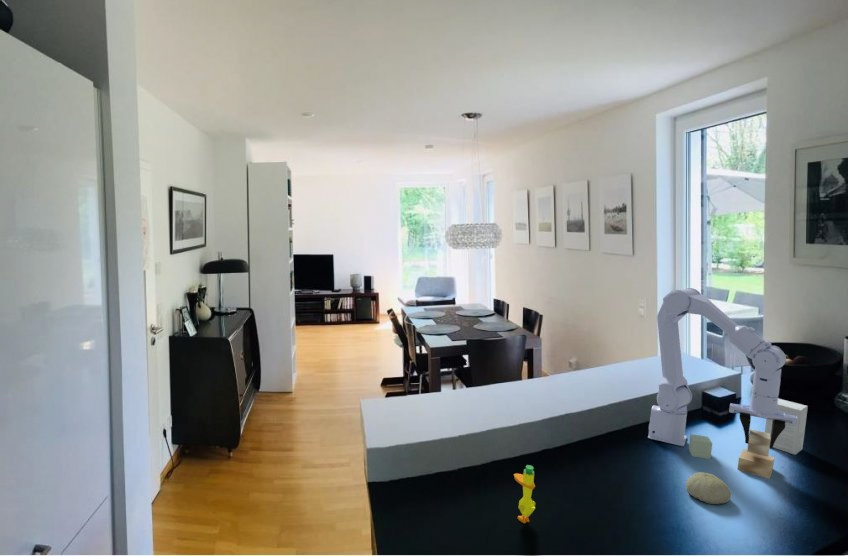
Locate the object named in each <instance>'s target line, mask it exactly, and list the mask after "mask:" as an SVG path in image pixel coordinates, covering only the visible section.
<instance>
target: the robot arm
mask: <svg viewBox="0 0 848 556" xmlns="http://www.w3.org/2000/svg"><path fill="white" fill-rule="evenodd" d="M687 314H692V315H700V316H703V317H704V318H706V319H707V320H708V321H710V322H711V323H713V324H714V325H715V326H716V327H718V328H719V329H720V330H721V331H723V332H724V333H726V334H727V335H728V336H727V337H728V341H729V343H731V344H732V345H733V346H734V347H736V348H737V349H738V350H739V351H741V353H743V354H744V355H745V356H746V357H747V358H749V359H750V360H751V363H752V365H753V366H754V374H753V381H752V388H751V396H750V401H749V402H750V404H749V405H747V404H746V405H745V404H737V403H731V402H730V404H729V409H728V410H729V413H732V414H735V413H736V414H739V420H740V422H741V425H742V429H743V433H744V438H745V441H744V443H745V444H747V445H748V442H749V432H750V429H751V421H752V419H751V418H752V417H756V418H759V419H765V420H766V419H770V420H772V430H771V436H770V438H771V441H770V448H769V450H773V445H774V443H775V441H776V439H777V437H778V436H779V435H780V433H781V432H782V431H783V430H784V428H785V423H790V424H792V425H795V426H797V420H798V418H797V416H794V415H790V414H786V413H783V412H779V411H777V404H778V399H779V395H780V388H781V387H780V386H781V381H782V380H781V377H782V368H783V366H784V365H785V364H786V361H787V357H786V354H785V353H784V351H783V349H781V348H780V347H779V346H777V345H772V343H771V342H770V341H766V340H765V339H763V338H762V336H760V335H758V334H757V333H756V329H755V328H753V327H751V326H750V327H748V326H747V325H738V324H737V323H736V322H735V321H734V320H732V319H731V318H730V317H729V316H728V315H727V314H726V313H724V311H722V310H721V309H720V308H719V307H718V306H717V305H716V304H714V303H713V302H712V301H711V300H710V299H709V298H708V297H707V296H706V295H705V294H703V293H701V292H700V291H699V290H698V289H697V288H696V289H695V288H693V287H689V288H683V289H675V290H674V289H673V290H671V291H670V292H669V293H668V294H666V295H665V296H664V297H663V298H662V304H661V307H660V308H659V311H658V312H657V316H656V317H657V318H656V319H657V331H658V339H659V340H658V341H659V351H660V353H659V354H660V362H661V374H662V377H661V380H660V381H659V384H658V393H657V395H656V402H657V404H658V405H655V404H654V405H652V407H651V409H650V411H651V412H650V417H649V424H648V436H647V438H648V439H650V440H655V441H660V442H664V443H667V444H671V445H676V446H679V447H685V444H686V440H687V435H685V432H686V426H687V425H686V424H687V416H688V409H687V406H688V405H689V404H690V403H691V402H692V399H693V394H692V391H691V389H690V388H689V384H688V380H687V378H686V377H684V371H683V362H682V352H681V351H682V350H681V342H680V341H681V340H680V330H679V328H680V327H679V321H681V319H682V318H683V317H685V316H686V315H687Z"/></svg>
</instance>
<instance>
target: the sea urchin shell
mask: <svg viewBox="0 0 848 556" xmlns="http://www.w3.org/2000/svg"><path fill="white" fill-rule="evenodd" d="M685 487H686V490H687V493H688V494H689V495H690V496H692V497H693V498H695V499H698V500H699V501H701V502H704V503H707V504H709V505H720V504H726V503H727V502H729V501H730V500H731V496H732V492H731V489H730V488H729V486H728V484H727V483H725V482H724V481H723V479H721V478H720V477H719V476H717V475H714V474H713V473H707V472H700V471H699V472H695V473H693V474H691V475H690V476H689V477H688V478H687V480H686V481H685Z"/></svg>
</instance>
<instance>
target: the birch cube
mask: <svg viewBox="0 0 848 556" xmlns="http://www.w3.org/2000/svg"><path fill="white" fill-rule="evenodd" d="M770 441H771V438H770V434H769V433H765V431H764V432H763V431H760V430H755V429H751V428H750V429H749V442H748V444H747V449H746V450H747V452H751V453H755V454H759V455H763V456H767V457H768V456H770V455H769V454H770Z"/></svg>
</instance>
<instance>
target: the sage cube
mask: <svg viewBox="0 0 848 556" xmlns="http://www.w3.org/2000/svg"><path fill="white" fill-rule="evenodd" d="M712 449H713V442H712V441H711V439H710V437H709V436H705V435H701V434H700V435H698V434H691V433H690V435H689V444H688V451H689V453H690V455H691V457H695V458H700V459H708V460H711V458H712V457H711V456H712V451H713V450H712Z"/></svg>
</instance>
